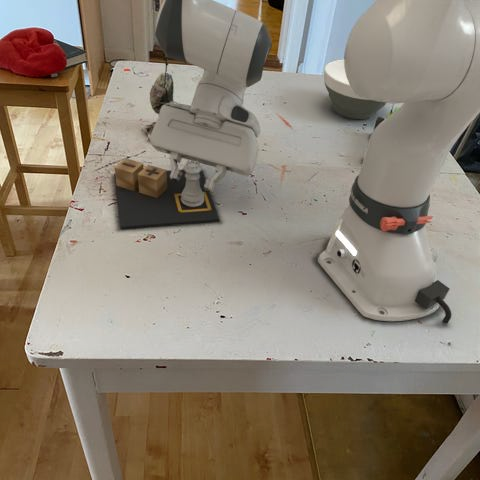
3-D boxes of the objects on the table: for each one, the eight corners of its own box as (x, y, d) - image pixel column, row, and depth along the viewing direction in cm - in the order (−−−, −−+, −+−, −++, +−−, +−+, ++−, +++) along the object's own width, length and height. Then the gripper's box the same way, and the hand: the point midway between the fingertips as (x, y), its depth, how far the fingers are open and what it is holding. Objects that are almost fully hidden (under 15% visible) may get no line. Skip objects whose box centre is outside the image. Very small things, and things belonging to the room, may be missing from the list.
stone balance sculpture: (184, 123, 113) (183, 30, 99) (174, 145, 106) (171, 48, 91) (151, 119, 114) (145, 25, 99) (138, 141, 106) (130, 42, 91)
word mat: (219, 221, 88) (219, 218, 87) (120, 229, 84) (120, 226, 83) (201, 171, 99) (201, 168, 99) (114, 176, 96) (113, 172, 95)
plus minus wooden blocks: (157, 198, 90) (156, 179, 87) (116, 185, 92) (113, 166, 89) (167, 188, 93) (166, 169, 90) (127, 176, 95) (125, 157, 92)
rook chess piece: (178, 206, 89) (178, 168, 83) (183, 193, 92) (182, 155, 86) (202, 209, 89) (203, 171, 83) (205, 196, 92) (206, 158, 86)
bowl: (308, 95, 131) (315, 58, 124) (373, 95, 134) (383, 59, 127) (330, 128, 118) (339, 89, 111) (402, 127, 121) (415, 89, 114)
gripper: (157, 91, 85) (134, 164, 86) (263, 117, 81) (238, 195, 82) (170, 106, 91) (148, 175, 92) (268, 132, 87) (245, 204, 88)
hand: (191, 185), depth 87 cm, fingers open, 5 cm apart
